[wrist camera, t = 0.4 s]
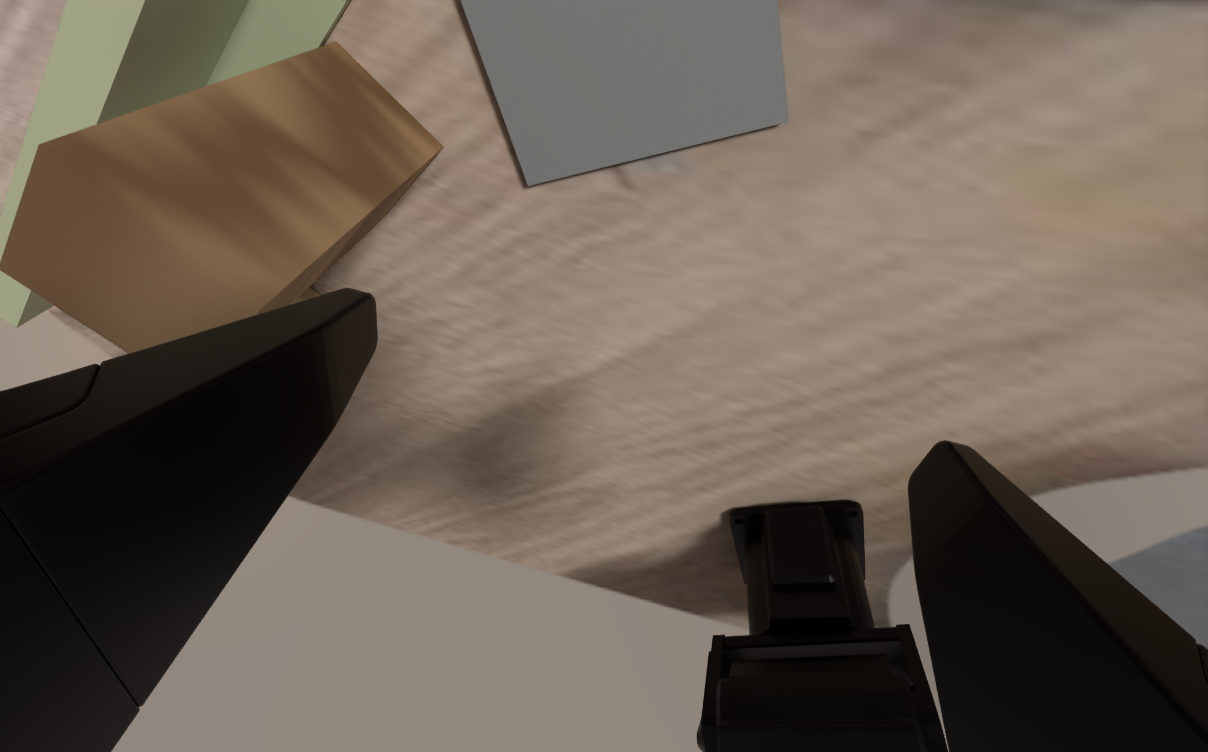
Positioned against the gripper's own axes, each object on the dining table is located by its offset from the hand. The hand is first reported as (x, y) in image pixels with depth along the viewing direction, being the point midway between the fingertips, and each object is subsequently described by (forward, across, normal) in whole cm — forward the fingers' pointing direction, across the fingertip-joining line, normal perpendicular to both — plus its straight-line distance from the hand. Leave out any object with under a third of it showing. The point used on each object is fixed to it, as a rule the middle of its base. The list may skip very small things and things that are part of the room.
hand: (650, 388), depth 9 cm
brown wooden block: (+13, +11, +2) cm, 18 cm away
